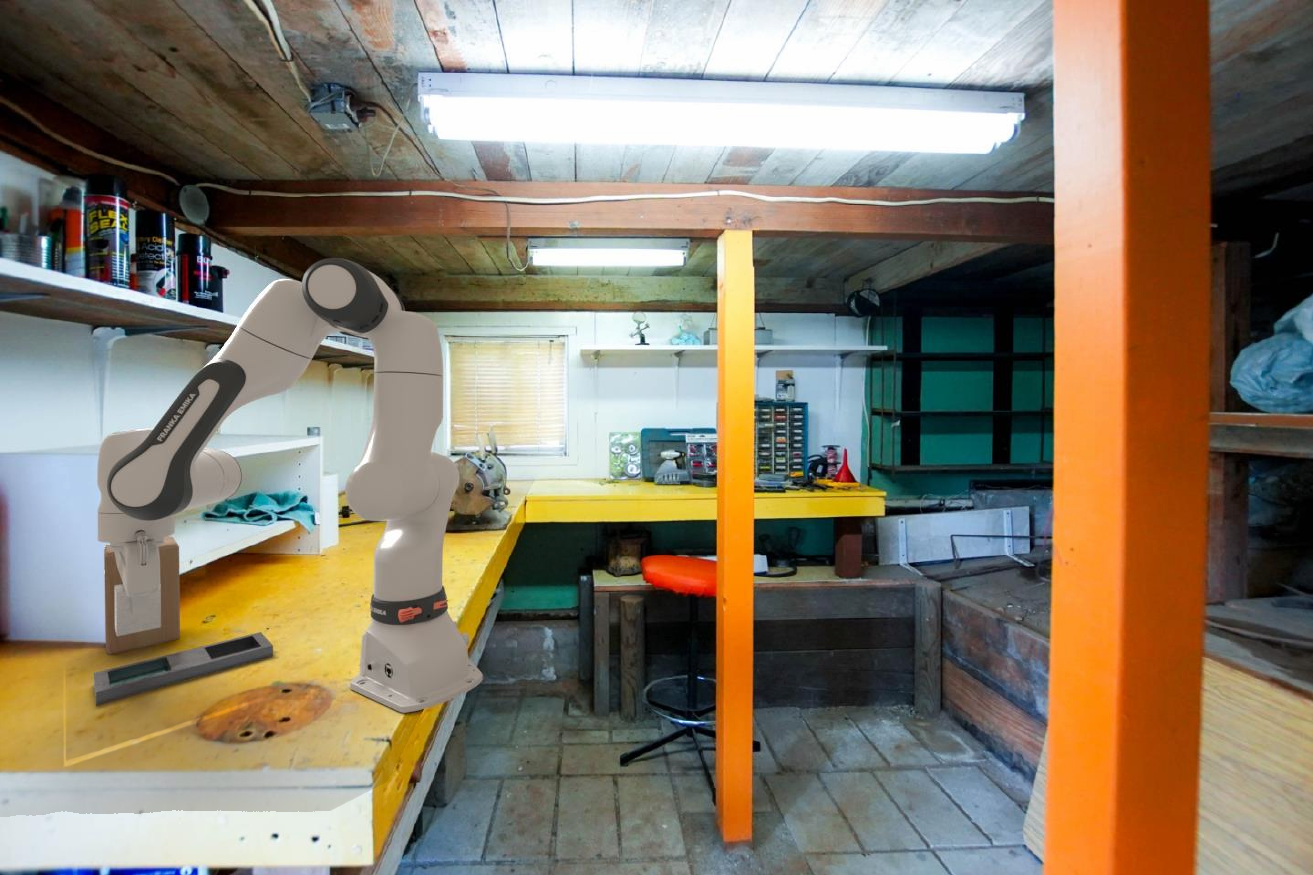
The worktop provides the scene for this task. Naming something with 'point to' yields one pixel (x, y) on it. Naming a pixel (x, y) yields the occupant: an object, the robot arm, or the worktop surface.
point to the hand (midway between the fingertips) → (137, 609)
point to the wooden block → (168, 602)
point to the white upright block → (130, 623)
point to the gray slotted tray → (179, 667)
